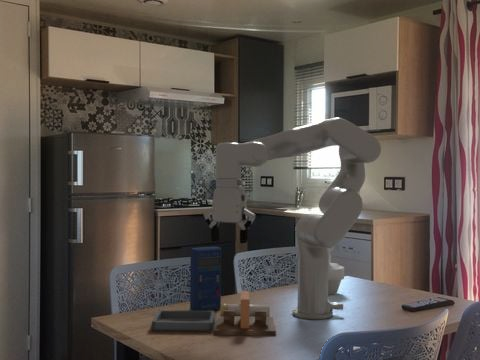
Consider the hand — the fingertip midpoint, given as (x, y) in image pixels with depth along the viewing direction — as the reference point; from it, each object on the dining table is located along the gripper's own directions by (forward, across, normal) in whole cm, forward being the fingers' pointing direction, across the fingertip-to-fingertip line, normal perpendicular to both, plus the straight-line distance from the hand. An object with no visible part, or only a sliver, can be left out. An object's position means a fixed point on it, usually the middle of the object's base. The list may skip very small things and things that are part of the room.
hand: (229, 241), depth 162 cm
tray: (+24, +10, +10) cm, 27 cm away
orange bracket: (+23, -7, +3) cm, 24 cm away
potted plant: (+25, -12, -52) cm, 59 cm away
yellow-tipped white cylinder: (+21, -7, +3) cm, 22 cm away
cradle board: (+24, -7, +3) cm, 25 cm away
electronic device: (+24, +14, -8) cm, 29 cm away
